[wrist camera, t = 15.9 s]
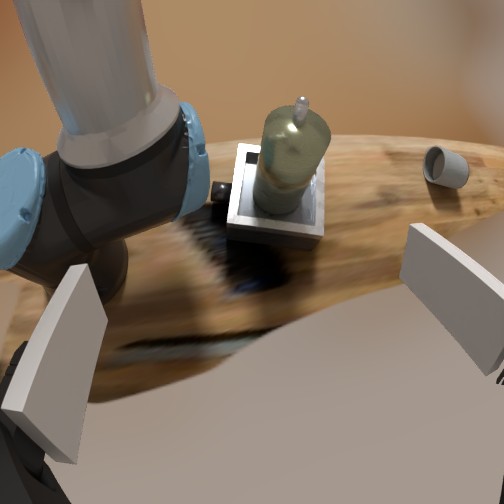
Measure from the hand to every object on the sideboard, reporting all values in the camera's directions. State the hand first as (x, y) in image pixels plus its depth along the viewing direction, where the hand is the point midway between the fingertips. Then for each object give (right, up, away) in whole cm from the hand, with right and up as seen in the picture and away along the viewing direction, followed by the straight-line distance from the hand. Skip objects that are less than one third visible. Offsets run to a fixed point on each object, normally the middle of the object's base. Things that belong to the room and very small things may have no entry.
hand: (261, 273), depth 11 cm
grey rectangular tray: (+1, +8, +36) cm, 37 cm away
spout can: (+3, +9, +31) cm, 33 cm away
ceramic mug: (+38, +18, +42) cm, 60 cm away
